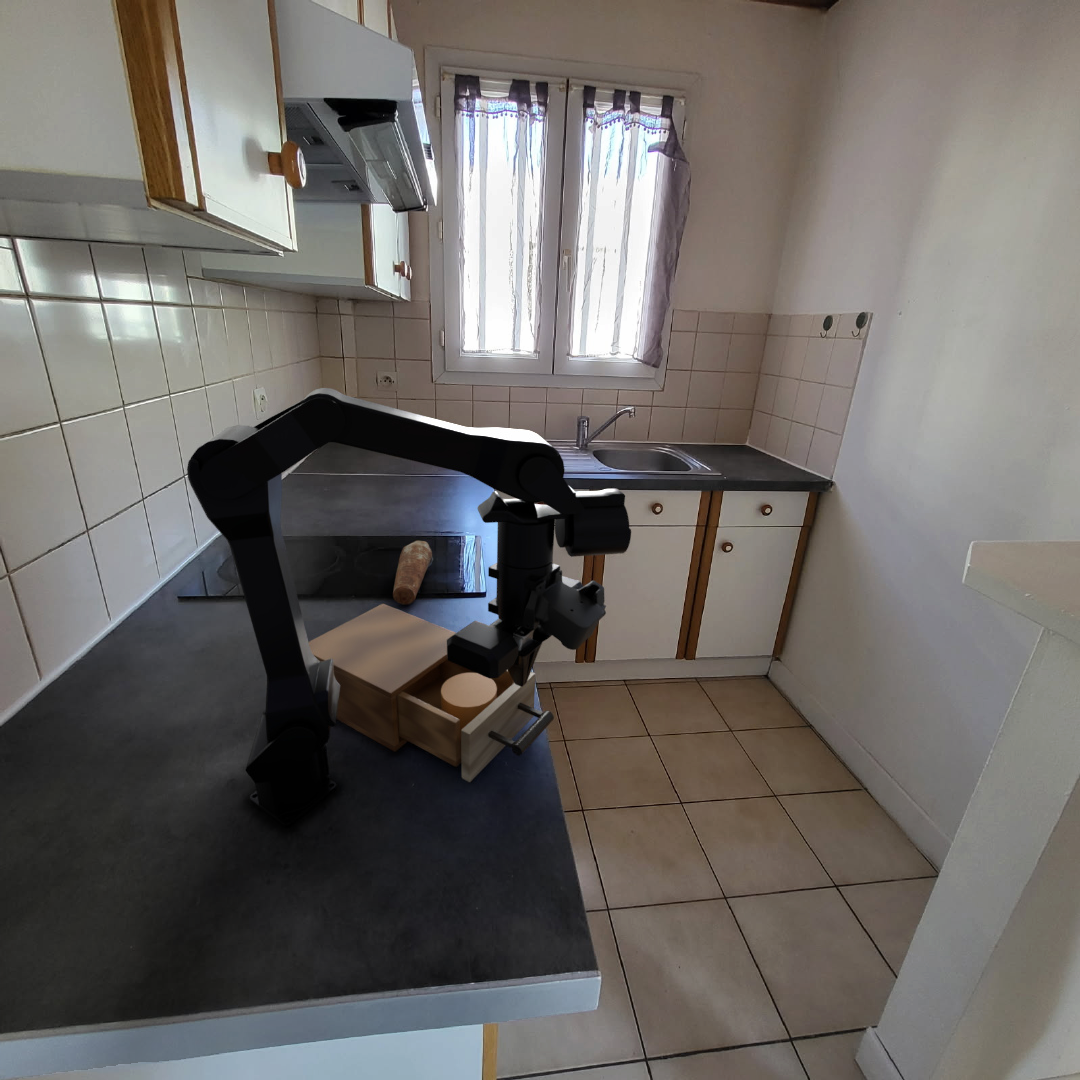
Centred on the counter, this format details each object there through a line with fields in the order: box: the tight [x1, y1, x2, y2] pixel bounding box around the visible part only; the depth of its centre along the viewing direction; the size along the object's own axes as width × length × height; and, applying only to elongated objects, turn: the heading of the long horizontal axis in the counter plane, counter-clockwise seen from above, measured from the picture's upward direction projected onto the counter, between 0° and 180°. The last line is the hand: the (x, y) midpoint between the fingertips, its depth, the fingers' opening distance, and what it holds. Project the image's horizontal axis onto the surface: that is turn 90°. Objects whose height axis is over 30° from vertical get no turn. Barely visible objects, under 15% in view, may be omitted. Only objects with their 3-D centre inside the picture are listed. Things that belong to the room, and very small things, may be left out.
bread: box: [392, 540, 433, 606], centre depth 107 cm, size 6×19×6 cm, turn 2°
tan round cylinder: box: [441, 673, 497, 740], centre depth 69 cm, size 7×7×5 cm
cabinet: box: [308, 603, 457, 753], centre depth 75 cm, size 17×15×9 cm
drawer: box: [396, 660, 555, 783], centre depth 69 cm, size 20×13×7 cm, turn 58°
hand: (520, 684), depth 63 cm, fingers closed
